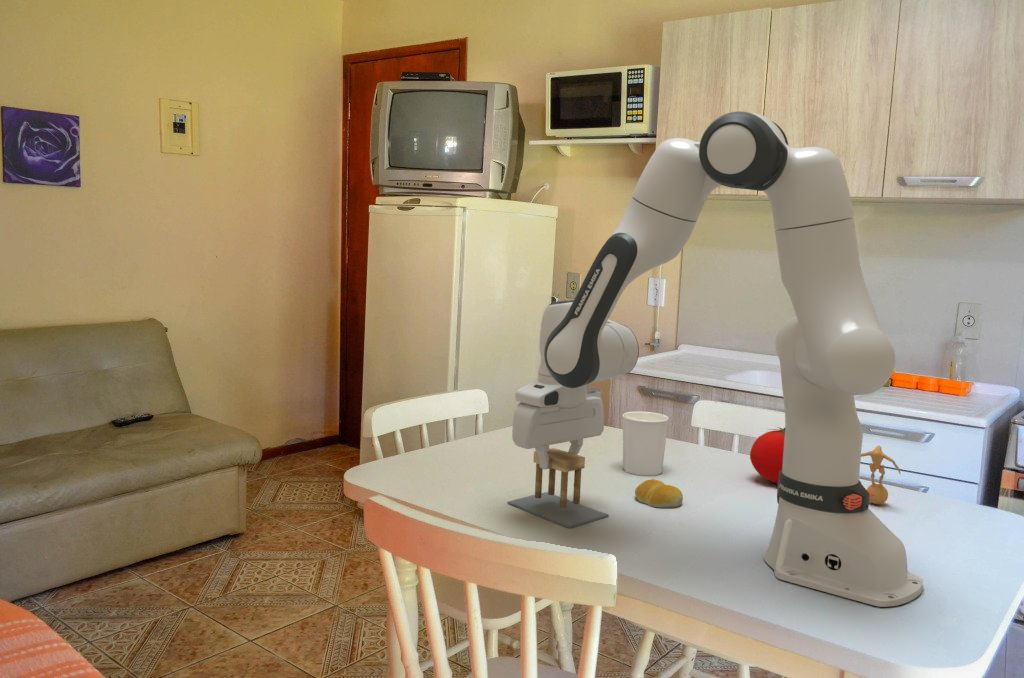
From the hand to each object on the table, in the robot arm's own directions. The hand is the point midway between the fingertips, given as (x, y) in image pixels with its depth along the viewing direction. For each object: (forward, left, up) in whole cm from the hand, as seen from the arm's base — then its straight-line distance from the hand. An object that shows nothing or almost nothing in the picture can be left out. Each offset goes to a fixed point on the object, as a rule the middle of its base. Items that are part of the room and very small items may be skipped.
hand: (558, 465), depth 148 cm
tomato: (-15, -52, -9) cm, 55 cm away
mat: (0, 0, -8) cm, 8 cm away
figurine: (-34, -53, -9) cm, 64 cm away
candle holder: (+8, -34, -9) cm, 36 cm away
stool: (0, 0, -6) cm, 6 cm away
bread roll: (-7, -20, -9) cm, 23 cm away
